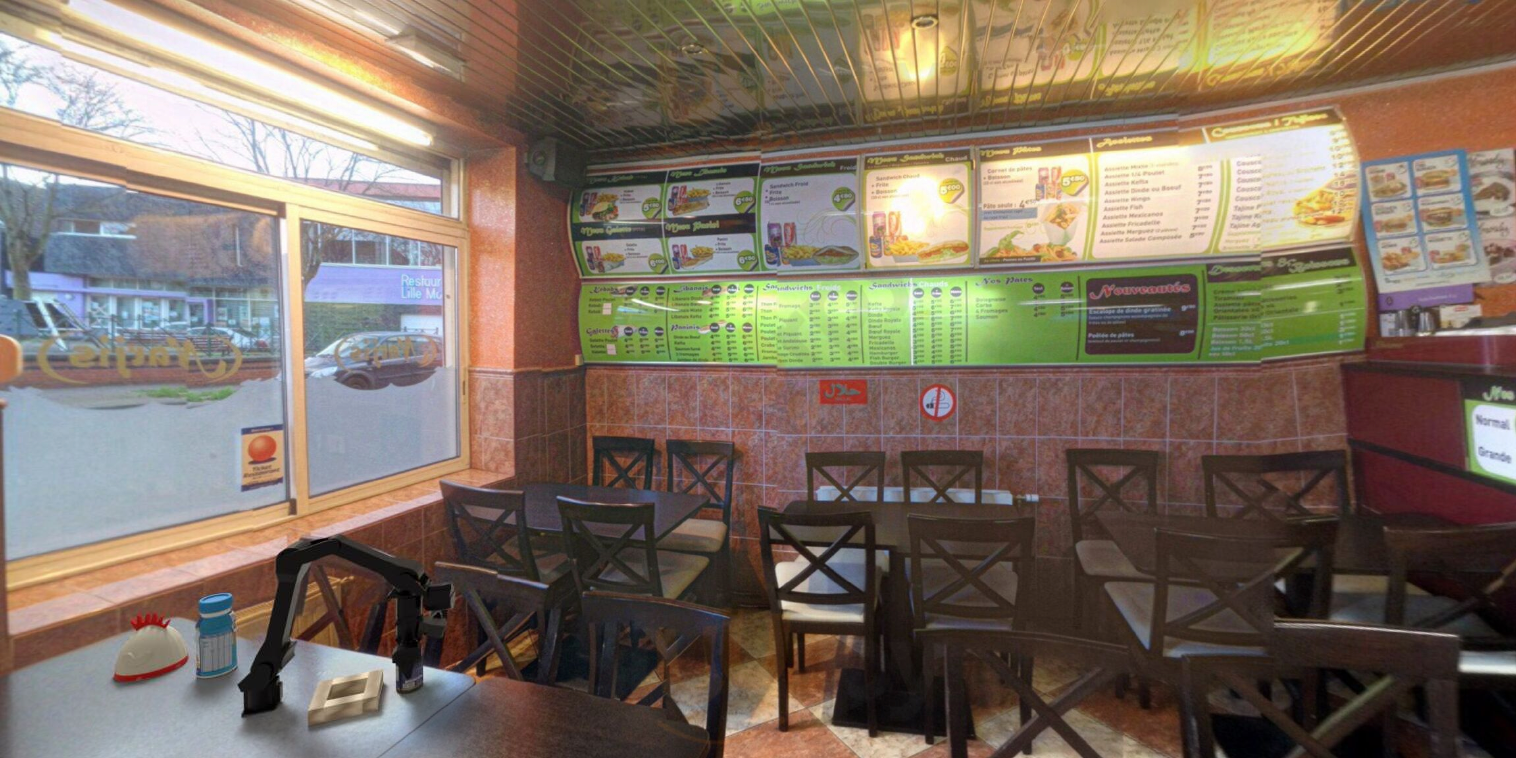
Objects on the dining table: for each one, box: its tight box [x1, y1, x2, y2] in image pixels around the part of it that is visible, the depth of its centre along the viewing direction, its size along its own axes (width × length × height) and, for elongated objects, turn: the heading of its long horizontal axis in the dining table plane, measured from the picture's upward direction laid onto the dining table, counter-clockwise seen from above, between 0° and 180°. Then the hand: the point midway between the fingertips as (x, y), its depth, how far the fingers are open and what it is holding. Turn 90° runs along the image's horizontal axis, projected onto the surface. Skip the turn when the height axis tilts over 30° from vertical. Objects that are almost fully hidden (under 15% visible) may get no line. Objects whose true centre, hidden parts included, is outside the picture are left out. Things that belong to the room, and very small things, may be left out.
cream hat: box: [113, 611, 189, 683], centre depth 158 cm, size 14×14×15 cm
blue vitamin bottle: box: [194, 592, 238, 679], centre depth 156 cm, size 8×8×20 cm
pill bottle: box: [395, 641, 424, 694], centre depth 151 cm, size 6×6×11 cm
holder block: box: [307, 668, 384, 727], centre depth 144 cm, size 14×14×4 cm
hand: (409, 672), depth 151 cm, fingers closed on pill bottle, 6 cm apart
